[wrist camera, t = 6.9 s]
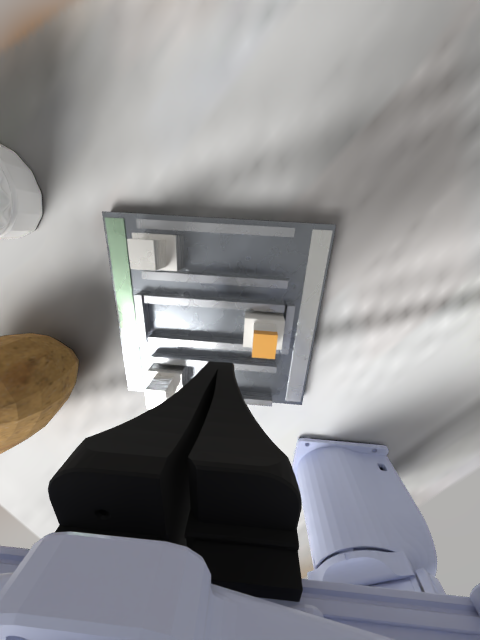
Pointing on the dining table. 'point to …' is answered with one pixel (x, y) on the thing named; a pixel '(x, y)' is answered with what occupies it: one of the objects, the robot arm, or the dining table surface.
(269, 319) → the breaker
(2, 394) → the potato
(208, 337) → the panel
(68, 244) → the dining table surface
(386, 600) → the robot arm
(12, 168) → the white cup
